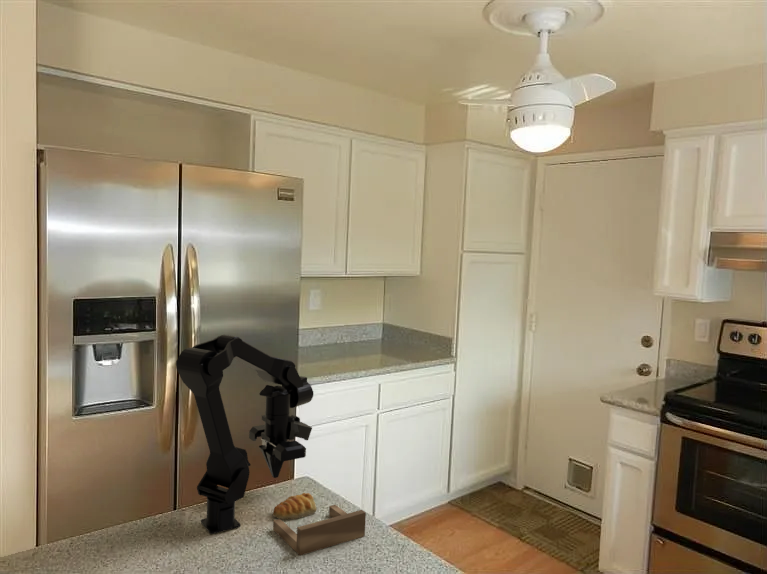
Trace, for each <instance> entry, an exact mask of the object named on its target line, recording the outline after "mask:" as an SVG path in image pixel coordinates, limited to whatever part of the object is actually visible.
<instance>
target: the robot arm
mask: <svg viewBox="0 0 767 574" xmlns="http://www.w3.org/2000/svg"><path fill="white" fill-rule="evenodd" d="M234 360H235V361H237V362H239V363H240V364H243V365H244V366H247V367H249V368H250V369H253V370H254V371H255V372H256V373H257V376H258V377H259V378H260V379H262V380H263V381H264V382H267V383H272V384H276V385H275V386H273V385H269V384H266V385H265V387H264V388H263V389H261V390H260V392H259V394H258V395H259V396H262V397H265V402H264V403H265V404H264V405H265V407H264V409H265V410H264V414H262V415H261V420H262V421H263V422H264V424H262V425H254V426H252V427H251V428H250V429H249V430H248V431H249V433H248V439H250V440H251V441H252V442H256V441H257V440H258V438H260V440H261V445H259V446H258V448H259V450H260V452H261V453H262V456H263V459H264V460H265V463H266V465H267V467H268V469H269V471H270V472H269V473H270V474H271V477H272V478H273V479H277V478H279V476H280V472H281V470H282V467H283V464H284V462H287V461H292V460H293V461H294V460H298V459H304V458H306V456H307V455H306V453H307V451H306V450H307V448H306V447H305V446H304V445H303V444H302V443H300V442H299V441H297V440H295V438H298V439H303V440H304V441H309V438H310V436H311V432H312V430H313V427H312V426H310V425H308V424H307V423H305V422H303V421H301V418H300V417H299V416H297V415H295V414H294V415H293V414H291V409H294V408H297V407H300V406H303V405H305V404H309V403H310V402H311V401H312V400H313V398H314V390H313V387H312V386H311V384H310V383H309V382H308V377H306V376H302V375H300V374H299V372H298V371H297V368H296V364H295V362H294V361H292V360H288V359H285V358H284V359H283V358H280V357H275V356H271V355H269V354H268V353H265V352H264V351H263V350H260V349H258V348H257V347H255V346H253V345H251V344H249V343H247V342H246V341H243V339H242V338H240V337H239V336H235V335H229V334H221V335H218V336H217V337H215V338H213V339H211V340H207V341H205V342H201V343H199V344H196V345H194V346H192V347H186V348H184V349H183V350H182V351H181V352H180V354H179V355H178V358H177V359H176V361H175V366H176V367H175V368H176V371H177V373H178V375H179V377H180V379H181V381H182V383H183V384H184V385H185V386H186V387H187V388H188V390H189V391H190V392H192V394H193V396H194V400H195V403H196V407H197V410H198V414H199V417H200V420H201V421H200V422H201V424H202V428H203V431H204V435H205V438H206V439H205V440H206V442H207V445H208V449H209V455H208V456H207V459H206V462H205V464H206V471H205V472H204V475H203V476H202V477H201V480H200V481H199V483H198V484H197V485H196V490H197V494H198V496H203V497H206V518H201V519H200V524H201V525H202V526H203V527H204V528H205V529H206V531H207V532H208V533H209V534H210V535H213V534H214V535H215V534H217V533H221V532H225V531H230V530H233V529H238V528H240V527H241V525H242V524H241V523H240V522H239V521H238V520H237V519H236V518H235V515H236V502H237V501H238V500H239V501H240V500H241V499H242V498H244V497H245V494H246V490H247V486H248V482H249V478H250V467H251V463H250V461H249V458H248V452H247V450H246V449H245V448H242V447H236V446H235V443H234V440H233V435H232V432H231V429H230V425H229V421H228V417H227V413H226V409H225V406H224V402H223V398H222V394H221V391H220V390H221V389H220V386H221V382H222V380H223V378H224V370H225V369H228V368H229V367H230V366H232V365H231V364H232V362H233V361H234Z"/></svg>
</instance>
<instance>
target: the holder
mask: <svg viewBox="0 0 767 574" xmlns="http://www.w3.org/2000/svg"><path fill="white" fill-rule="evenodd" d="M328 508H329V510H328V515H329V518H327V519H322V520H319V521H315V522H312V523H308V524H304V525H300V526H297V527H296V531H294V530H293V529H292V528H291V527H290V526H289V525H288V524H287V523H285V521H284V520H282V519H279V518H277V519H274V520H273V522H272V526H273V527H272V530H273V531H274V532H275V534H277V535H278V536H279V537H280V538H281V539H282V540H283V541H284V542H285V543H286V544H287V545H289V547H290V548H292V550H293V551H294V552H295V553H296V554H297V555H299V556H304V555H306V554H309V553H313V552H316V551H321V550H323V549H326V548H330V547H333V546H336V545H339V544H343V543H347V542H350V541H353V540H356V539H360V538H363V537H365V536H366V520H367V519H366V518H367V517H366V516H367V513H366V511H364V510H363V509H360V510H356V511H352V512H348V513H347V512H346V511H344V509H342V508H341V507H339V506H338V505H336V504H332V505H329V507H328Z"/></svg>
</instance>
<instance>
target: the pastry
mask: <svg viewBox="0 0 767 574" xmlns="http://www.w3.org/2000/svg"><path fill="white" fill-rule="evenodd" d="M315 513H317V505H316V501H315V500H314V496H313V495H312V494H310V493H309V492H307V493H306V492H302V493H301V494H296V495H290V496H288V497H287V498H286V499H285V500H283V501H281V502H279V503H278V504H276V506H274V507H273V513H272V516H273V517H274V518H277V519H281V520H282V521H286V520H299V519H302V518H304V517H305V516H306V517H309V516H312V515H314V514H315Z"/></svg>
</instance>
